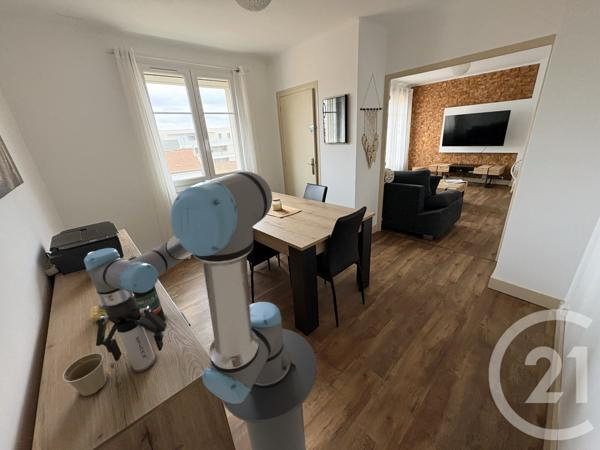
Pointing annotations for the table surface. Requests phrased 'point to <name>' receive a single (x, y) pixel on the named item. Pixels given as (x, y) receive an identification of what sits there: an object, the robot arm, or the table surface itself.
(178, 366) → the table surface
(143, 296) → the wine bottle
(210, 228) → the robot arm
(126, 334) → the travel mug
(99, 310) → the cake
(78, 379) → the flower pot
